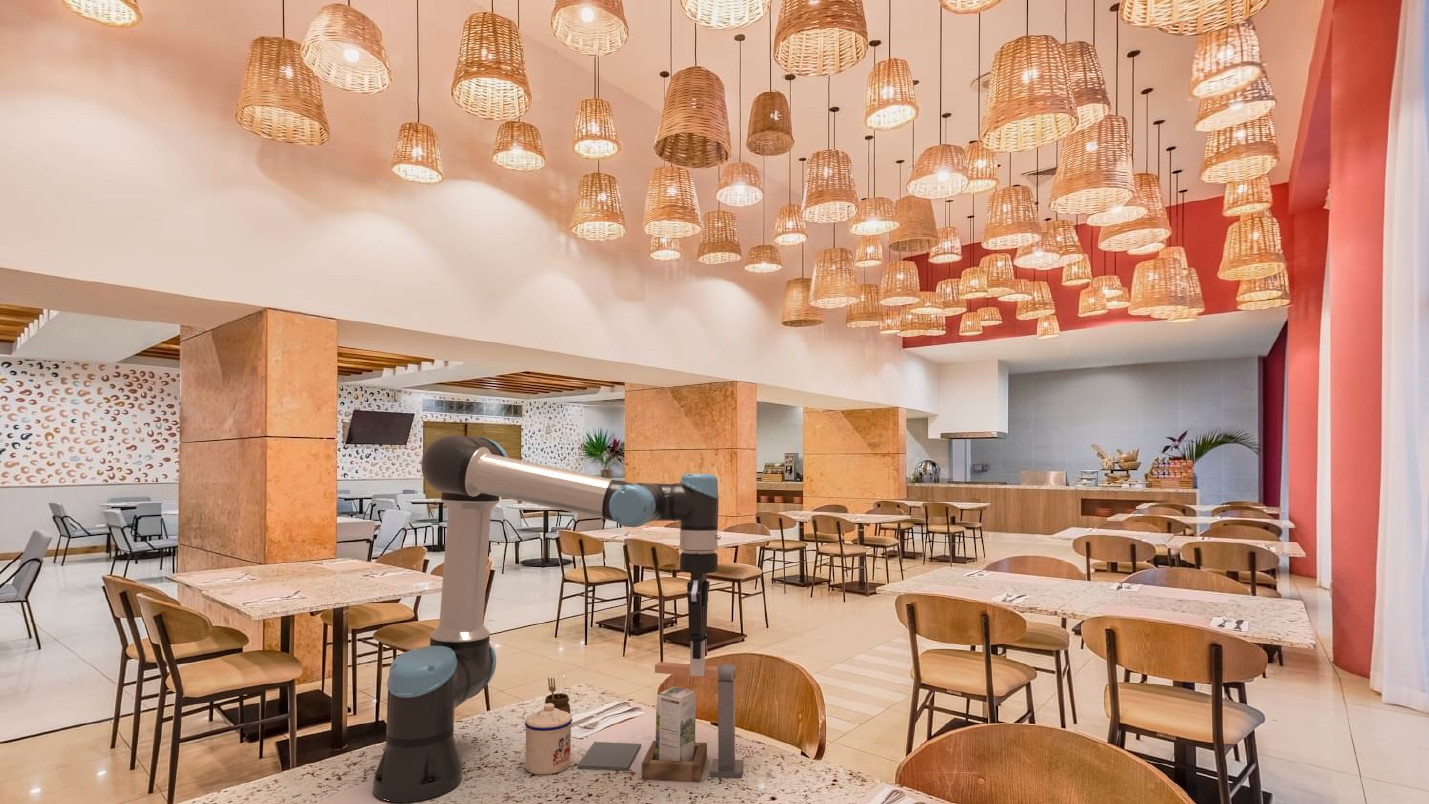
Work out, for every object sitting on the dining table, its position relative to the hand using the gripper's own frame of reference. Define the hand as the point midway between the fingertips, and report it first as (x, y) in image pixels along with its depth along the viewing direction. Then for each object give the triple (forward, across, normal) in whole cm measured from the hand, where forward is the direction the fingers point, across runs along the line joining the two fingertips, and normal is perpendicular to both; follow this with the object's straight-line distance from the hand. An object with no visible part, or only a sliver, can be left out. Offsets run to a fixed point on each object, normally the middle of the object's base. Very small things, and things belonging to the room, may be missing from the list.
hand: (697, 675), depth 138 cm
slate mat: (+18, +5, +18) cm, 26 cm away
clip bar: (0, +2, +1) cm, 2 cm away
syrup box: (+18, +2, +4) cm, 19 cm away
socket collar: (+18, +2, +4) cm, 19 cm away
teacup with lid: (+18, +1, +29) cm, 35 cm away
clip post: (+18, +2, -6) cm, 19 cm away
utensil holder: (+18, +19, +35) cm, 43 cm away
